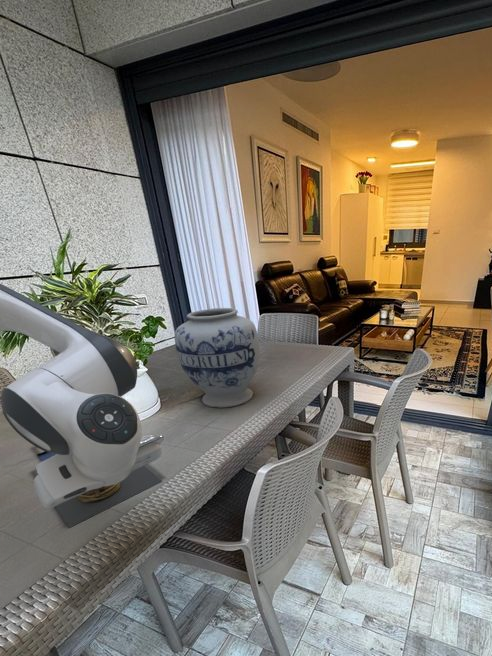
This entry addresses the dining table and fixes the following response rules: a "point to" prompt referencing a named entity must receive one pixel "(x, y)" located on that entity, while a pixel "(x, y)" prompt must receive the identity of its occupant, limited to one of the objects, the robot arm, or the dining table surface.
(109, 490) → the wooden mug
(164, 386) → the dining table surface
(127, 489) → the plate
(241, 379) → the apothecary jar
